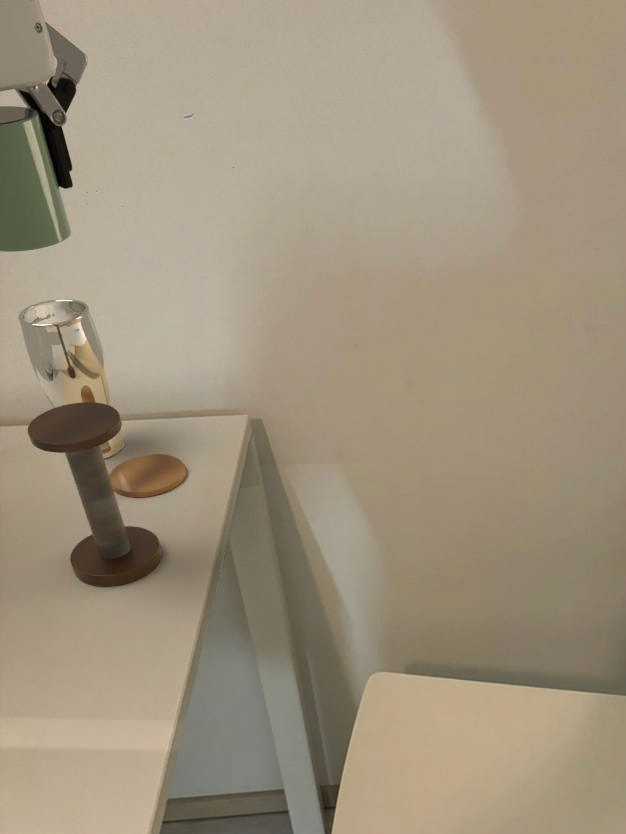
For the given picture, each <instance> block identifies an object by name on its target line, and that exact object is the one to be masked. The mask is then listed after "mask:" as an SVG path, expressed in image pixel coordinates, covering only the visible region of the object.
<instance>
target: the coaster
mask: <svg viewBox="0 0 626 834" xmlns="http://www.w3.org/2000/svg"><path fill="white" fill-rule="evenodd" d="M186 476H187V469H186V465H185V463H184V462H183V460H181V459H180V458H178V457H176V456H173V455H170V454H163V453H151V454H143V455H138V456H135V457H131V458H128V459H127V460H125V461H123V462H121V463H119V464H117V465H116V466H115V467H114V468H113V469H112V470H111V472H110V473H109V477H110V480H111V483H112V487H113V490H114V493H116V494H119V495H121V496H124V497H129V498H130V497H131V498H147V497H148V498H149V497H153V496H158V495H161V494H165V493H166V492H169V491H172V490H173V489H175V488H176V487H178V486H179V485H180V484H181V483H183V481H184V480H185V478H186Z"/></svg>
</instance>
